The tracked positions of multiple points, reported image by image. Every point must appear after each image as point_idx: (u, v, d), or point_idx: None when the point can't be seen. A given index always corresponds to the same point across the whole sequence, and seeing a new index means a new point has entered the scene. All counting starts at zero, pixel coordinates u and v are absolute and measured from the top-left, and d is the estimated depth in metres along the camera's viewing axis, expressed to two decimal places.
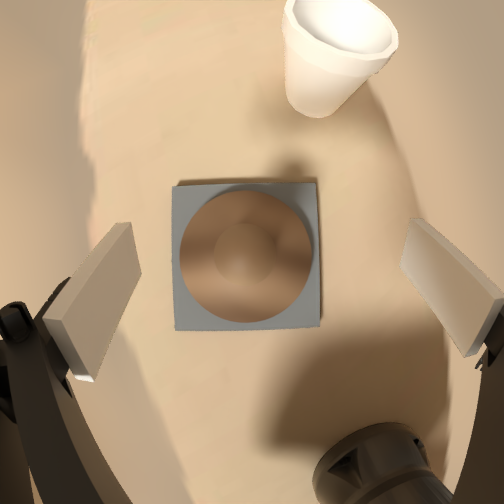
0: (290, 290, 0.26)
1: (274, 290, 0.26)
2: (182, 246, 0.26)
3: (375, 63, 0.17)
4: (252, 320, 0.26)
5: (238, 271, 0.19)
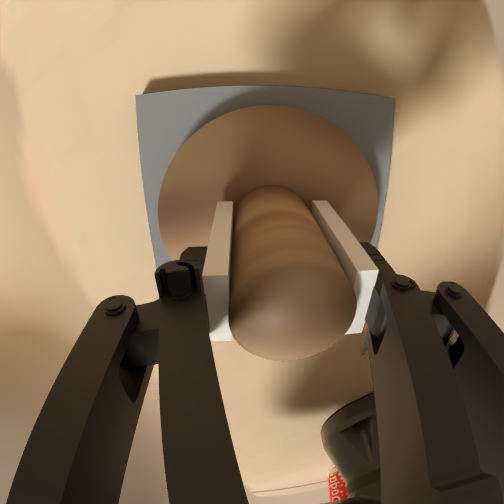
0: None
1: None
2: (161, 206, 0.15)
3: None
4: None
5: (277, 343, 0.09)
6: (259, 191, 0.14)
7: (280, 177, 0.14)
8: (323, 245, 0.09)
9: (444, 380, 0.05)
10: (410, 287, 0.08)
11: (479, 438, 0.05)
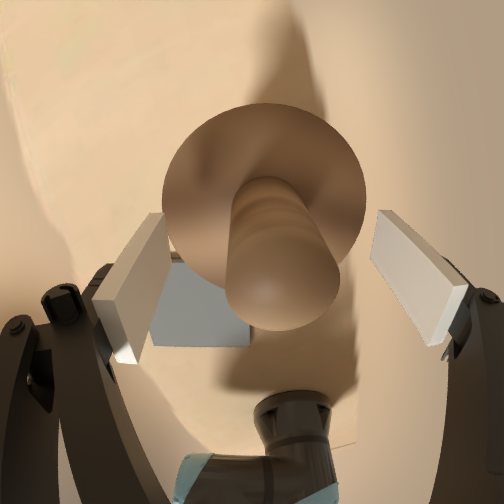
0: None
1: None
2: (165, 198, 0.16)
3: None
4: None
5: (269, 313, 0.11)
6: (254, 182, 0.15)
7: (273, 169, 0.15)
8: (309, 224, 0.11)
9: None
10: (494, 301, 0.07)
11: None
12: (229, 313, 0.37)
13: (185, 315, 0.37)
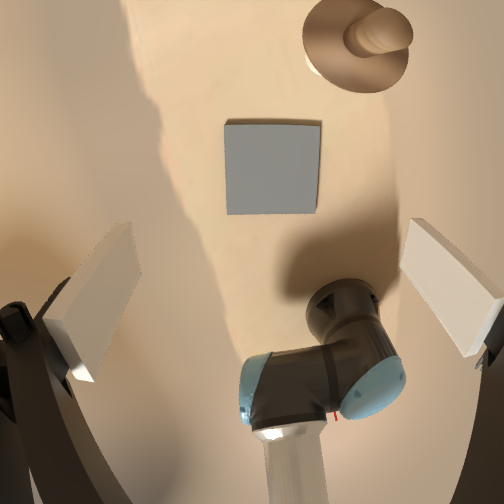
0: (393, 73, 0.24)
1: (382, 70, 0.24)
2: (307, 25, 0.22)
3: None
4: (365, 91, 0.26)
5: (389, 37, 0.17)
6: None
7: None
8: None
9: None
10: None
11: None
12: (301, 174, 0.43)
13: (263, 176, 0.43)
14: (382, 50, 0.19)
